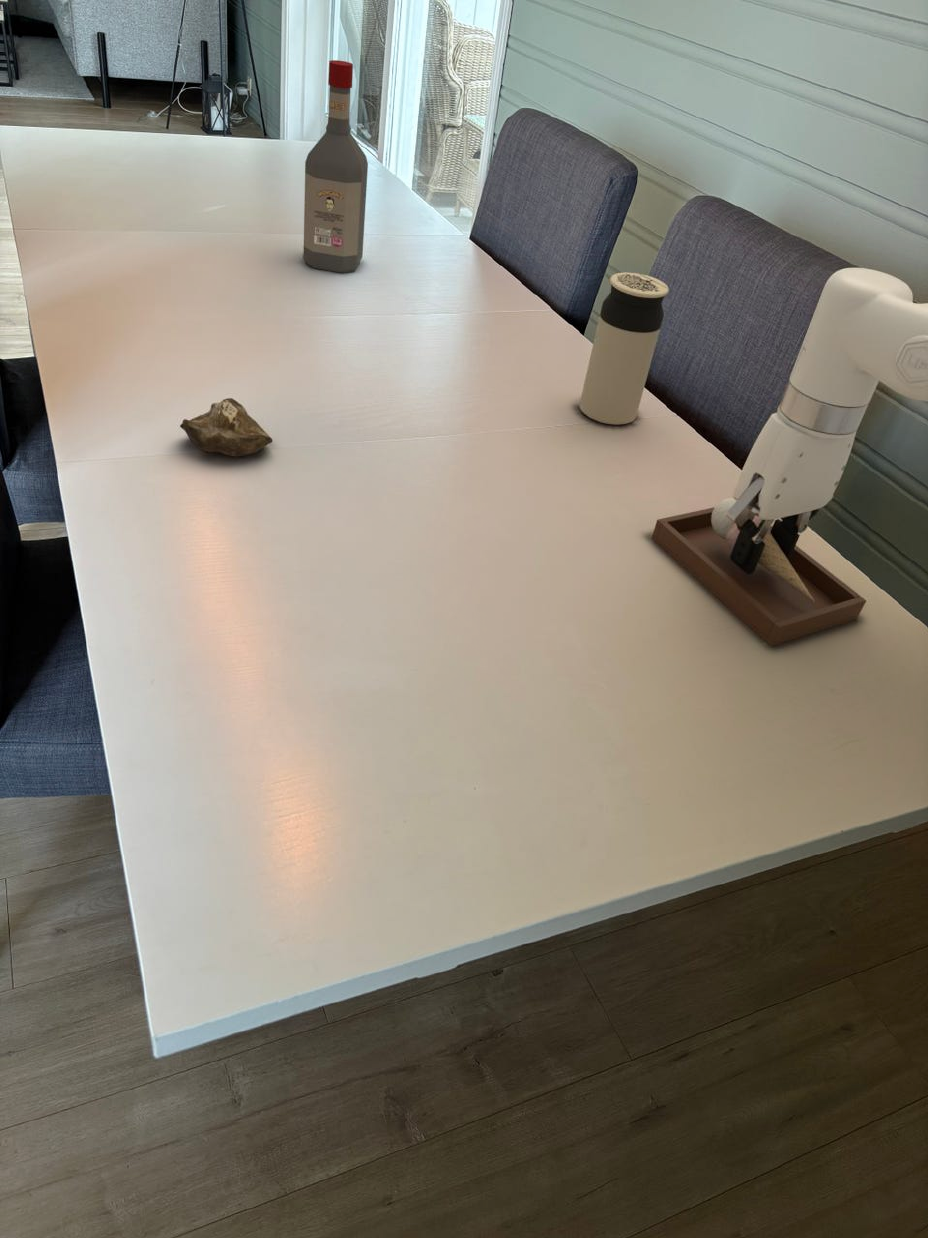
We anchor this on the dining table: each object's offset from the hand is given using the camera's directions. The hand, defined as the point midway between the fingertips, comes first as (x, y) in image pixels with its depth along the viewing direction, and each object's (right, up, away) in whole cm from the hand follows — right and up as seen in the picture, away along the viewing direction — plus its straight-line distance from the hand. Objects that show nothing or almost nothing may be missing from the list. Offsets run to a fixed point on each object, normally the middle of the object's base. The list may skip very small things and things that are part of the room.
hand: (758, 560), depth 98 cm
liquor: (-54, +55, +60) cm, 98 cm away
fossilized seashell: (-59, +13, +8) cm, 61 cm away
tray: (0, -2, +2) cm, 2 cm away
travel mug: (-12, +22, +28) cm, 38 cm away
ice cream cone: (+1, 0, +1) cm, 1 cm away
